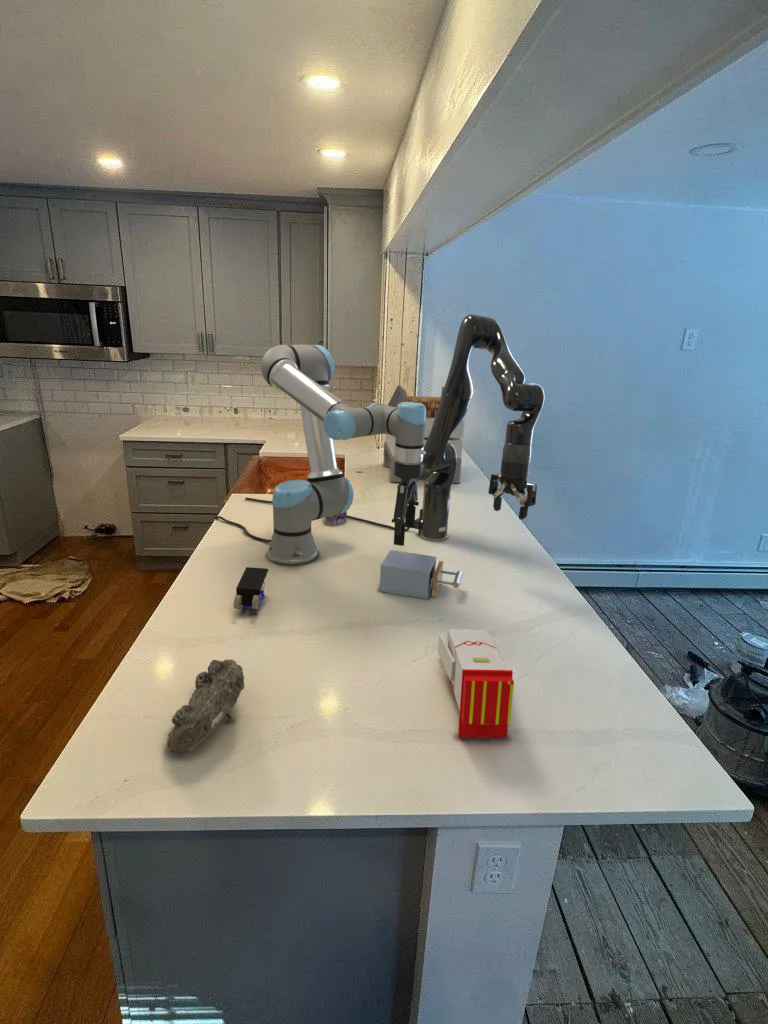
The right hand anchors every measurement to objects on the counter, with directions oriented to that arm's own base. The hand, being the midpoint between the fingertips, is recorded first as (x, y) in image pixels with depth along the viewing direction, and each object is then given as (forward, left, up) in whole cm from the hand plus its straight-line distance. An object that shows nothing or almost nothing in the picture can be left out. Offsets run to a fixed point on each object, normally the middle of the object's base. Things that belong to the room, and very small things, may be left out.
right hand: (509, 514), depth 159 cm
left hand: (-22, -20, -6) cm, 30 cm away
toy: (+16, -51, -22) cm, 58 cm away
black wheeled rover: (-46, -54, -22) cm, 75 cm away
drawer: (-15, -17, -21) cm, 31 cm away
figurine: (-69, +7, -22) cm, 73 cm away
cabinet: (-20, -19, -22) cm, 35 cm away
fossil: (-19, -89, -22) cm, 93 cm away
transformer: (-81, +84, -22) cm, 118 cm away
